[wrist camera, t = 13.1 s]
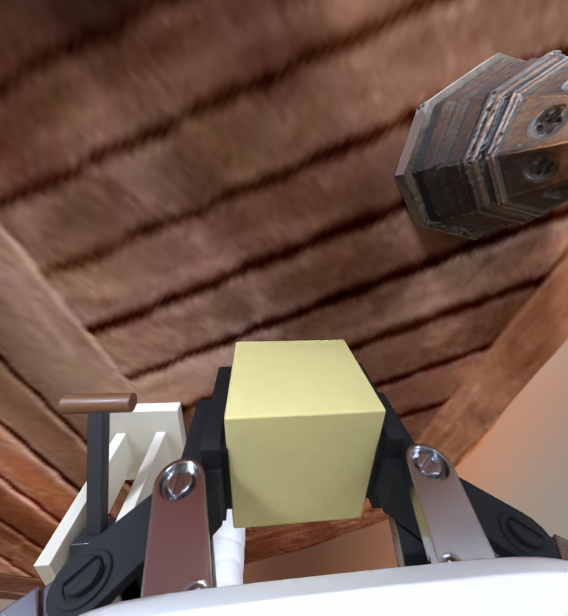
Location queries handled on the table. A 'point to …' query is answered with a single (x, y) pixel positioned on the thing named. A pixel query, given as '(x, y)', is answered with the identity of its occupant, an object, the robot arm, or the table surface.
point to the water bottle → (229, 553)
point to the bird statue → (489, 148)
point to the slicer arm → (96, 455)
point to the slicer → (122, 472)
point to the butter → (299, 432)
